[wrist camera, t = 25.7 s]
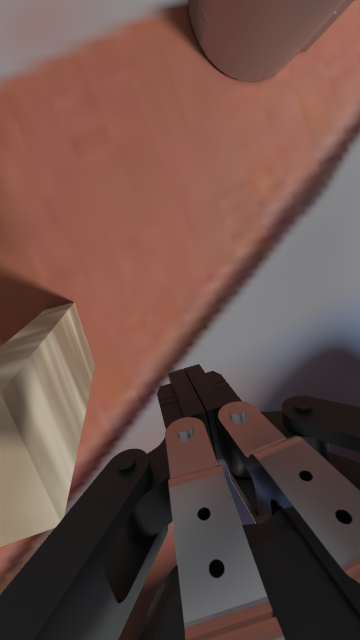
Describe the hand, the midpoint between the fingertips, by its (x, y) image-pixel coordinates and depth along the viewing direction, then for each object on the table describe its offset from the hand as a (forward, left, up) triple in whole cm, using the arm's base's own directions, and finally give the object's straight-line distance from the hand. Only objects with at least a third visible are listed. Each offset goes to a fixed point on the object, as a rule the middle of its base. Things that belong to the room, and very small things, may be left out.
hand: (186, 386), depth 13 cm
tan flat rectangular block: (+7, 0, -13) cm, 15 cm away
